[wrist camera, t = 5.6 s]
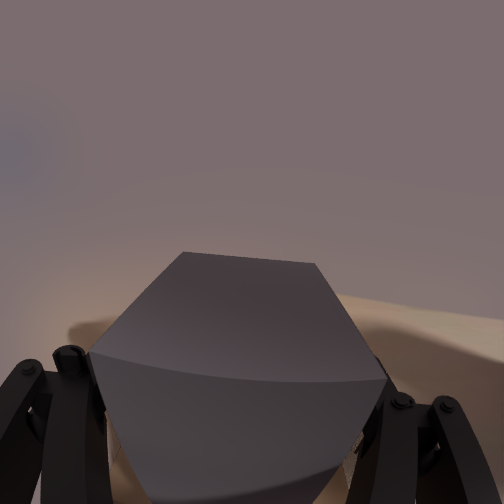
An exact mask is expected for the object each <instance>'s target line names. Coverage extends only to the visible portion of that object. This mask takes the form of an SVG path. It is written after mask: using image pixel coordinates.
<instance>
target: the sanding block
mask: <svg viewBox="0 0 504 504" xmlns="http://www.w3.org/2000/svg"><path fill="white" fill-rule="evenodd" d="M89 355H90V358H91V362H92V366H93V369H94V373H95V376H96V380H97V383H98V386H99V389H100V392H101V395H102V398H103V401H104V404H105V407H106V409H107V412H108V415H109V417H110V420H111V423H112V425H113V428H114V430H115V432H116V435H117V437H118V439H119V442H120V444H121V446H122V448H123V450H124V453H125V455H126V457H127V459H128V461H129V463H130V465H131V467H132V469H133V471H134V473H135V475H136V477H137V478H138V480H139V482H140V484H141V486H142V487H143V489H144V491H145V493H146V494H147V496H148V498H149V499H150V501H151V503H152V504H313V502H314V501H315V500H316V498H317V497H318V496H319V495H320V493H321V492H322V491H323V489H324V488H325V487H326V485H327V484H328V483H329V481H330V480H331V478H332V477H333V476H334V474H335V473H336V471H337V470H338V468H339V467H340V465H341V464H342V462H343V461H344V459H345V458H346V456H347V454H348V453H349V451H350V450H351V448H352V446H353V445H354V443H355V441H356V440H357V438H358V436H359V434H360V433H361V431H362V429H363V427H364V425H365V424H366V422H367V420H368V418H369V416H370V414H371V412H372V410H373V408H374V406H375V404H376V402H377V400H378V398H379V396H380V394H381V392H382V390H383V388H384V386H385V383H386V381H387V379H388V378H387V376H386V375H385V373H384V371H383V370H382V368H381V366H380V365H379V363H378V361H377V360H376V358H375V356H374V355H373V353H372V351H371V350H370V348H369V347H368V345H367V343H366V342H365V340H364V338H363V337H362V335H361V334H360V332H359V330H358V329H357V327H356V326H355V324H354V322H353V321H352V319H351V318H350V316H349V315H348V313H347V311H346V310H345V308H344V307H343V305H342V304H341V302H340V301H339V299H338V298H337V296H336V295H335V293H334V291H333V290H332V288H331V287H330V286H329V284H328V282H327V281H326V280H325V278H324V276H323V275H322V273H321V272H320V270H319V269H318V268H317V266H316V265H315V264H314V263H304V262H292V261H281V260H269V259H258V258H246V257H235V256H224V255H214V254H202V253H192V252H182V253H181V254H180V255H179V256H178V257H177V258H176V259H175V260H174V261H173V262H172V263H171V264H170V265H169V266H168V267H167V268H166V269H165V270H164V271H163V272H162V273H161V274H160V275H159V276H158V277H157V278H156V279H155V280H154V281H153V282H152V283H151V284H150V285H149V286H148V287H147V288H146V289H145V290H144V292H143V293H142V294H141V295H140V296H139V297H138V298H137V299H136V300H135V301H134V302H133V303H132V304H131V305H130V306H129V307H128V308H127V309H126V310H125V311H124V312H123V314H122V315H121V316H120V317H119V318H118V319H117V320H116V321H115V322H114V323H113V324H112V325H111V326H110V328H109V329H108V330H107V331H106V332H105V333H104V334H103V335H102V336H101V337H100V339H99V340H98V341H97V342H96V343H95V344H94V345H93V346H92V348H91V349H90V350H89Z"/></svg>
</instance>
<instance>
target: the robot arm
mask: <svg viewBox="0 0 504 504" xmlns="http://www.w3.org/2000/svg"><path fill="white" fill-rule="evenodd" d="M52 356H53V359H54V362H55V365H56V368H57V370H58V372H51V371H44V369H43V366H42V364H41V363H40V362H39V361H37V360H35V359H26V360H23V361H21V362H20V363H18V364H17V365H16V367H15V368H14V369H13V371H12V372H11V373H10V374H9V376H8V377H7V378H6V380H5V381H4V383H3V384H2V385H1V387H0V504H31V501H32V498H33V494H34V491H35V488H36V485H37V482H38V479H39V476H40V473H41V499H40V500H41V502H40V503H41V504H113V498H112V491H111V483H110V474H109V463H108V448H107V420H106V416H105V413H104V412H105V411H106V407H105V404H104V401H103V398H102V395H101V392H100V389H99V386H98V383H97V380H96V376H95V373H94V369H93V366H92V362H91V358H90V355H89V352H88V353H87V355H85V351H84V350H83V349H82V348H81V347H79V346H75V345H65V346H62V347H59V348H58V349H57V350H55V352H54V353H53V354H52ZM375 358H376V360H377V361H378V363H379V365H380V366H381V368H382V370H383V371H384V373H385V375H386V376H387V378H388V379H387V381H386V383H385V386H384V388H383V390H382V392H381V394H380V396H379V398H378V400H377V402H376V404H375V406H374V408H373V410H372V412H371V414H370V416H369V418H368V420H367V422H366V424H365V425H364V427H363V429H362V431H363V434H364V437H363V439H362V440H361V442H360V444H359V445H358V447H357V448H356V450H355V452H354V453H355V454H357V452H358V451H359V452H358V457H357V461H356V466H355V470H354V474H353V478H352V482H351V485H350V489H349V492H348V496H347V499H346V503H345V504H415V498H416V504H502V503H501V500H500V496H499V493H498V490H497V487H496V485H495V482H494V479H493V476H492V474H491V471H490V469H489V466H488V464H487V461H486V459H485V456H484V454H483V452H482V449H481V447H480V445H479V443H478V440H477V438H476V436H475V434H474V432H473V430H472V428H471V425H470V423H469V421H468V419H467V417H466V415H465V413H464V412H463V410H462V408H461V406H460V404H459V403H458V401H457V400H455V399H454V398H452V397H450V396H443V395H442V396H438V397H437V398H436V399H435V400H434V401H433V403H432V405H425V404H416V403H415V401H414V399H413V398H412V397H411V396H409V395H408V394H406V393H402V392H398V390H397V389H396V387H395V385H394V384H393V382H392V380H391V379H390V377H389V375H388V374H387V373H386V370H385V369H384V367H383V365H382V364H381V362H380V360H379V359H378V358H377V357H376V356H375ZM30 407H32V409H31V411H30V412H28V410H29V408H30ZM438 443H439V446H440V449H439V448H438V446H437V444H438ZM41 470H42V472H41Z"/></svg>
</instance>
